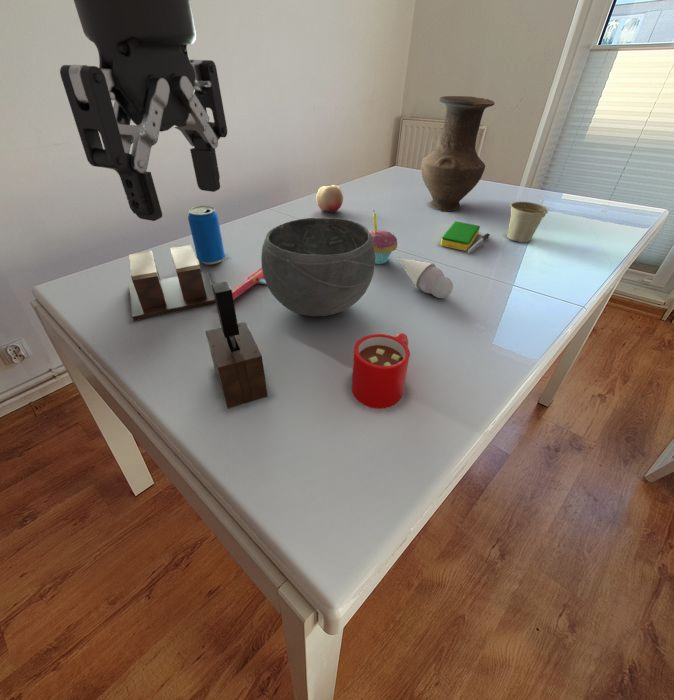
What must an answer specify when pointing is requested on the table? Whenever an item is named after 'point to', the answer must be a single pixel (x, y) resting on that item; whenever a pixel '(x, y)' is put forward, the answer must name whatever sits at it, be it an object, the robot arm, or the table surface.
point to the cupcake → (382, 243)
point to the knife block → (238, 366)
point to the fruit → (329, 198)
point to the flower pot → (525, 220)
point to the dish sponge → (460, 236)
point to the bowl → (318, 264)
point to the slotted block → (168, 285)
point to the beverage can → (206, 234)
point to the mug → (380, 369)
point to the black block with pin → (226, 311)
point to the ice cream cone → (427, 277)
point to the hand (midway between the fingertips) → (182, 203)
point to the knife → (479, 243)
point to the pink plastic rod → (249, 283)
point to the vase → (455, 153)
